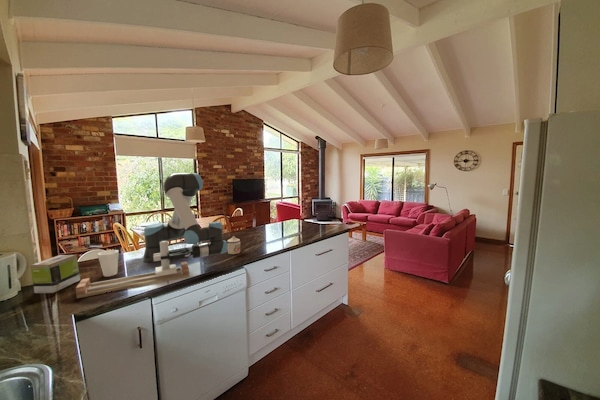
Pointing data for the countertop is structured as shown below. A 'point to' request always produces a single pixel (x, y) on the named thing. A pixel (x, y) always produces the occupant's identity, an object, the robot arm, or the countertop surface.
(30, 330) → the countertop surface
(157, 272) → the carriage
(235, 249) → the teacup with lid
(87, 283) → the rail
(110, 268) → the foam cup
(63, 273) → the tea box
